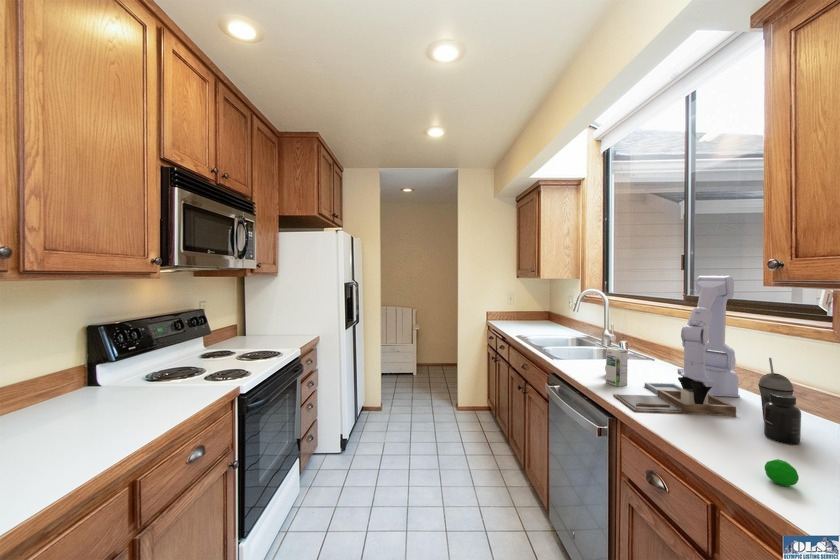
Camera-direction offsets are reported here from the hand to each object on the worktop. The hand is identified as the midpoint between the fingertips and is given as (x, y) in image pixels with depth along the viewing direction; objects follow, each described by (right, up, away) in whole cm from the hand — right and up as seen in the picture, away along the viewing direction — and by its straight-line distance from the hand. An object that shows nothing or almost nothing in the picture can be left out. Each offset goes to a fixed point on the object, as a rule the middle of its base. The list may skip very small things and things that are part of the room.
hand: (694, 401), depth 118 cm
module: (0, -1, 0) cm, 1 cm away
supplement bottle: (+5, -2, -24) cm, 25 cm away
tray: (+1, -1, +14) cm, 15 cm away
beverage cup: (+11, -2, -17) cm, 20 cm away
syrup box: (-13, -1, +24) cm, 27 cm away
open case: (-8, -1, +1) cm, 8 cm away
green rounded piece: (-16, -2, -44) cm, 47 cm away
